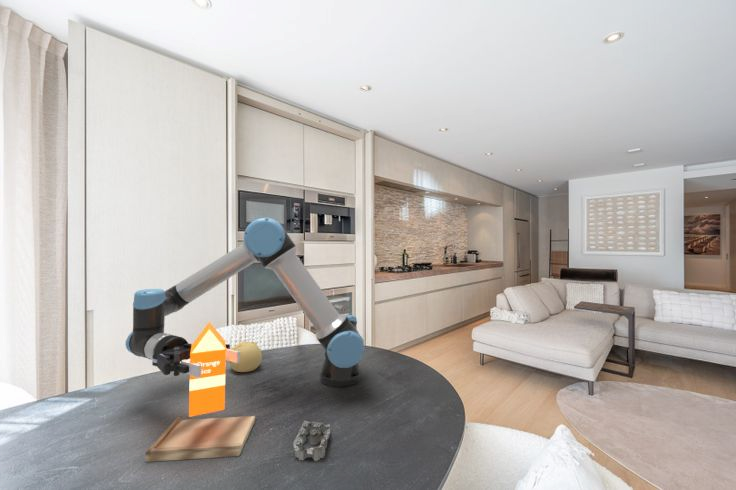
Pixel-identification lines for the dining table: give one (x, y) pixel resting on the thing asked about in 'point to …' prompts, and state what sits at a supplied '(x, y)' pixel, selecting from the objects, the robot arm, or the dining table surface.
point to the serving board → (201, 439)
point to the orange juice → (208, 373)
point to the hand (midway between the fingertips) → (220, 363)
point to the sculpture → (247, 357)
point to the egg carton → (311, 440)
